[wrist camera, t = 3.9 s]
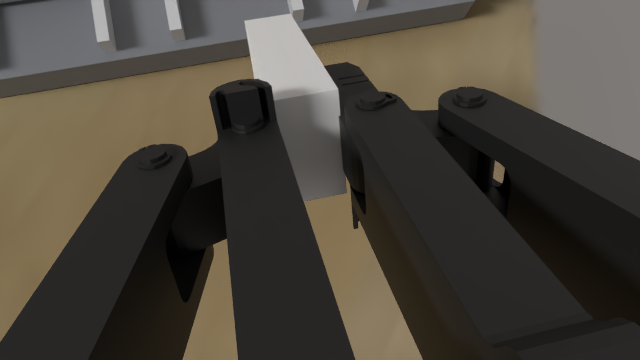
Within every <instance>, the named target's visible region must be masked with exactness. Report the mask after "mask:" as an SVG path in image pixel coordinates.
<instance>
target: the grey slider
mask: <svg viewBox="0 0 640 360" xmlns="http://www.w3.org/2000/svg"><path fill="white" fill-rule="evenodd" d="M14 1H21V0H0V4H1V3H8V2H14Z"/></svg>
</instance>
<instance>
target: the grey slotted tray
mask: <svg viewBox="0 0 640 360" xmlns="http://www.w3.org/2000/svg"><path fill="white" fill-rule="evenodd" d="M474 2H475V0H21V1H14V2H8V3H1V4H0V98H3V97H8V96H14V95H20V94H26V93H32V92H38V91H44V90H50V89H55V88H61V87H67V86H73V85H79V84H85V83H91V82H97V81H102V80H108V79H114V78H120V77H126V76H132V75H138V74H144V73H149V72H155V71H161V70H167V69H173V68H179V67H185V66H191V65H197V64H202V63H208V62H214V61H220V60H226V59H232V58H238V57H244V56H249V55H250V50H249V45H248V39H247V33H246V28H245V22H244V21H246V20H252V19H259V18H265V17H272V16H278V15H285V14H291V15H292V17H293V19H294V20H295V22H296V23H297V25H298V27H299V28H300V30H301V31H302V33H303V34H304V36H305V38H306V39H307V41H308V42H309V44H310V45H314V44H320V43H326V42H332V41H338V40H343V39H349V38H355V37H361V36H367V35H373V34H379V33H385V32H390V31H396V30H402V29H408V28H414V27H420V26H426V25H432V24H437V23H443V22H449V21H455V20H461V19H464V17H465V16H466V14H467V13H468V11H469V10H470V8H471V7H472V5H473V4H474Z"/></svg>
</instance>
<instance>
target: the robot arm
mask: <svg viewBox="0 0 640 360" xmlns="http://www.w3.org/2000/svg"><path fill="white" fill-rule="evenodd" d="M244 22H245V28H246V33H247V39H248V45H249V50H250V56H251V62H252V67H253V73H254V78H255V79H246V80H237V81H233V82H229V83H226V84H223V85H221V86H219V87H217V88H216V89H214V90H213V91H212V92H211V93H210V96H209V99H210V103H211V107H212V111H213V116H214V120H215V124H216V128H217V134H218V141H217V142H216V143H215V144H213V145H212V146H211V147H209V148H208V149H206V150H204V151H202V152H199V153H197V154H194V155H192V156H189V157H188V155H187V151H186V150H185V149H184V148H183V147H181V146H178V145H175V144H160V145H155V144H154V145H150V146H148V147H147V148H146V147H144V148H141V149H139V150H138V151H137V152H135V153H133V154H131V155H129V156H128V157H127V158H126V159H125V160H124V161H123V162H122V164H121V165H120V167H119V168H118V170H117V171H116V173H115V174H114V176H113V177H112V179H111V180H110V182H109V183H108V184H107V186H106V187H105V189H104V190H103V192H102V193H101V195H100V196H99V198H98V199H97V201H96V202H95V204H94V205H93V207H92V208H91V210H90V211H89V212H88V214H87V215H86V217H85V218H84V220H83V221H82V223H81V224H80V226H79V227H78V229H77V230H76V232H75V233H74V235H73V236H72V237H71V239H70V240H69V242H68V243H67V245H66V246H65V248H64V249H63V251H62V252H61V254H60V255H59V257H58V258H57V260H56V261H55V263H54V264H53V265H52V267H51V268H50V270H49V271H48V273H47V274H46V276H45V277H44V279H43V280H42V282H41V283H40V285H39V286H38V288H37V289H36V290H35V292H34V293H33V295H32V296H31V298H30V299H29V301H28V302H27V304H26V305H25V307H24V308H23V310H22V311H21V313H20V314H19V316H18V317H17V318H16V320H15V321H14V323H13V324H12V326H11V327H10V329H9V330H8V332H7V333H6V335H5V336H4V338H3V339H2V341H1V342H0V360H182V359H183V356H184V353H185V349H186V346H187V343H188V339H189V336H190V333H191V329H192V326H193V323H194V319H195V316H196V313H197V309H198V306H199V303H200V300H201V296H202V293H203V290H204V286H205V283H206V280H207V276H208V273H209V270H210V266H211V263H212V260H213V256H214V248H213V244H215V243H218V242H220V241H222V240H225V239H227V243H228V254H229V265H230V276H231V287H232V297H233V308H234V319H235V330H236V341H237V352H238V360H355V357H354V354H353V351H352V348H351V345H350V342H349V339H348V336H347V333H346V330H345V327H344V324H343V321H342V318H341V315H340V311H339V308H338V305H337V302H336V299H335V296H334V293H333V290H332V287H331V284H330V281H329V278H328V275H327V272H326V269H325V266H324V263H323V260H322V257H321V253H320V250H319V247H318V244H317V241H316V238H315V235H314V232H313V229H312V226H311V223H310V220H309V217H308V214H307V211H306V208H305V205H304V201H309V200H314V199H319V198H324V197H329V196H334V195H339V194H344V193H347V189H346V177H347V179H348V181H349V183H350V188H351V201H352V214H353V226H354V229H356V228H358V221H359V220H360V222H361V225H362V227H363V229H364V231H365V233H366V236H367V238H368V240H369V242H370V244H371V247H372V249H373V251H374V253H375V255H376V258H377V260H378V262H379V264H380V266H381V268H382V271H383V273H384V275H385V277H386V279H387V282H388V284H389V286H390V288H391V290H392V293H393V295H394V297H395V299H396V301H397V303H398V306H399V308H400V310H401V312H402V314H403V317H404V319H405V321H406V323H407V325H408V328H409V330H410V332H411V334H412V336H413V339H414V341H415V343H416V345H417V347H418V349H419V352H420V354H421V356H422V358H423V360H640V161H639V160H637V159H635V158H633V157H630V156H628V155H626V154H624V153H622V152H620V151H618V150H615V149H613V148H611V147H609V146H607V145H605V144H602V143H601V142H598V141H596V140H594V139H592V138H590V137H588V136H585V135H583V134H581V133H579V132H577V131H575V130H573V129H571V128H569V127H566V126H564V125H562V124H560V123H558V122H556V121H553V120H551V119H549V118H547V117H545V116H543V115H541V114H539V113H537V112H534V111H532V110H530V109H528V108H526V107H524V106H522V105H519V104H517V103H515V102H513V101H511V100H509V99H507V98H504V97H502V96H500V95H498V94H496V93H494V92H491V91H488V90H485V89H479V88H475V87H467V88H466V87H459V88H458V89H454V90H450V91H447V92H445V93H443V94H442V95H441V96H440V97H439V100H438V110H425V111H417V110H411V109H410V108H409V107H408V106H407V105H406V104H405V102H404V101H403V100H402V99H401V98H400V97H398V96H397V95H395V94H392V93H388V92H379V91H378V90H377V89H376V88H375V86H374V85H373V84H372V83H371V81H369V79H368V78H367V76H366V75H365V74H364V73H363V71H362V70H361V69H360V68H359V67H358V66H355V65H353V64H350V63H348V62H345V63H339V64H333V65H327V66H323V64H322V63H321V61H320V60H319V58H318V56H317V55H316V53H315V52H314V50H313V49H312V47H311V45H310V44H309V42H308V41H307V39H306V38H305V36H304V34H303V33H302V31H301V30H300V28H299V27H298V25H297V23H296V22H295V20H294V19H293V17H292V15H291V14H285V15H278V16H272V17H265V18H259V19H252V20H246V21H244ZM495 160H496V161H497V162H499V163H500V164H501V165H502V166H504V168H505V172H504V180H503V183H500V182H498V181H496V180H495V179H493V172H494V163H495ZM345 175H346V177H345Z"/></svg>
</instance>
